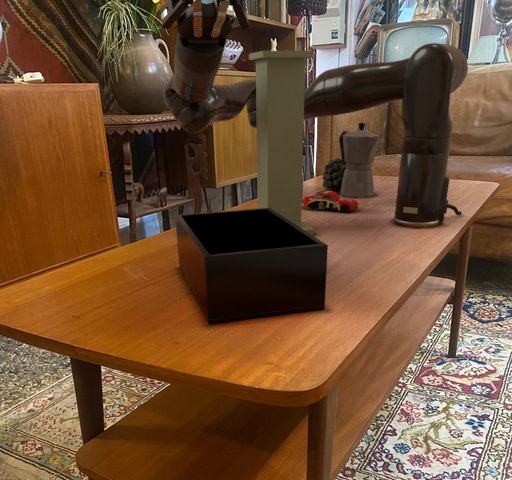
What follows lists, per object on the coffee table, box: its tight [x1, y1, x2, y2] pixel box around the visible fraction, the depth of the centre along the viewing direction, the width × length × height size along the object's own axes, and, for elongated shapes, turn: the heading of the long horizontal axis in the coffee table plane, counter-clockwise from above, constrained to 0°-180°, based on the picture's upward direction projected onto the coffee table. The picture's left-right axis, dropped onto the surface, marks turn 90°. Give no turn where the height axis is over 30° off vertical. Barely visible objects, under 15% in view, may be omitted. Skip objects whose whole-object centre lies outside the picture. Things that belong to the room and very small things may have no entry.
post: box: [248, 50, 315, 236], centre depth 99 cm, size 11×11×32 cm
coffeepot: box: [338, 122, 381, 199], centre depth 137 cm, size 15×9×18 cm, turn 28°
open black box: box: [174, 208, 329, 326], centre depth 74 cm, size 24×16×9 cm, turn 16°
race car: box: [302, 190, 359, 214], centre depth 123 cm, size 13×5×4 cm, turn 64°
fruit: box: [321, 157, 346, 192], centre depth 144 cm, size 9×8×15 cm
